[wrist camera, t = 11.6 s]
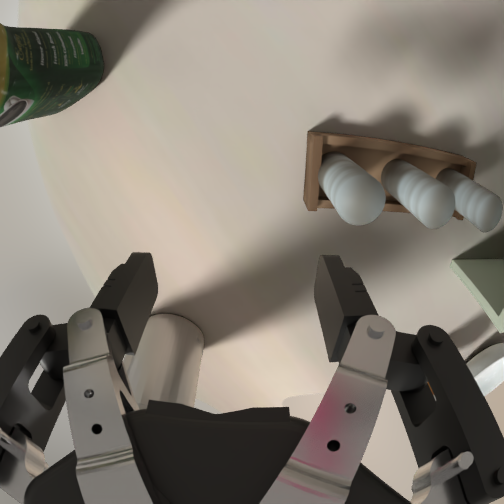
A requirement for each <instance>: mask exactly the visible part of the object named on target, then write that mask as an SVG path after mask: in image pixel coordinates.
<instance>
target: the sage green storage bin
mask: <svg viewBox="0 0 504 504" xmlns="http://www.w3.org/2000/svg"><path fill="white" fill-rule="evenodd" d="M450 268H451V269H452V270H453V271H454V272H455V274H456V275H457V276H458V277H459V278H460V280H461V281H462V282H463V283H464V285H465V286H466V287H467V288H468V290H469V291H470V292H471V294H472V295H473V296H474V298H475V299H476V300H477V302H478V303H479V304H480V306H481V307H482V308H483V310H484V311H485V312H486V314H487V315H488V317H489V318H490V320H491V321H492V322H493V324H494V325H495V327H496V328H497V330H498V331H499V333H503V332H504V259H459V260H452V262H451V265H450Z"/></svg>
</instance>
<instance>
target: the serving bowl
mask: <svg viewBox="0 0 504 504" xmlns="http://www.w3.org/2000/svg"><path fill="white" fill-rule="evenodd" d="M466 365H467V366H468V368H469V370H470V371H471V373H472V375H473V377H474V379H475V380H476V382H477V384H478V386H479V388H480V390H481V392H482V393H483V395H484V396H486V395H487V394H488V393H490V392H491V391H492V390H494V389H495V388H496V387H497V386H498V385H500V384H501V383H502V382H503V381H504V343H498V344H495V345H492V346H490V347H488V348H486V349H485V350H483V351H482V352H480V353H479V354H477V355H476V356H475V357H473V358H472V359H471V360H470V361H469V362H468V363H467V364H466Z"/></svg>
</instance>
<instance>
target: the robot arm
mask: <svg viewBox="0 0 504 504" xmlns="http://www.w3.org/2000/svg"><path fill="white" fill-rule="evenodd" d="M157 294H158V283H157V278H156V273H155V268H154V263H153V258H152V255H151V253H140V252H133V253H132V254H131V255H130V257H129V258H128V260H127V262H126V263H125V264H121V265H119V266H118V267H117V268H116V269H114V270H113V271H112V273H111V274H110V276H109V277H108V280H106V282H105V283H104V286H103V287H102V288H101V290H100V291H99V293H98V295H97V296H96V298H95V300H94V301H93V303H92V305H91V306H90V308H85V309H82V310H79V311H77V312H76V313H74V314H73V315H72V316H71V317H70V319H69V321H68V323H65V324H58V325H52V324H51V322H50V320H49V318H48V317H47V316H45V315H36V316H33V317H31V318H29V319H28V320H27V321H26V322H25V323H24V324H23V325H22V327H21V328H20V329H19V331H18V332H17V334H16V335H15V336H14V338H13V339H12V341H11V342H10V344H9V345H8V346H7V348H6V349H5V351H4V352H3V354H2V356H1V357H0V488H1V489H2V490H4V491H5V492H6V493H7V494H9V495H10V496H11V497H13V498H14V499H15V500H17V501H18V502H19V503H21V504H489V503H491V502H493V501H495V500H497V499H499V498H501V497H503V496H504V438H503V435H502V433H501V431H500V429H499V426H498V424H497V422H496V420H495V418H494V415H493V413H492V411H491V409H490V407H489V405H488V403H487V401H486V399H485V397H484V395H483V393H482V392H481V390H480V388H479V386H478V384H477V382H476V380H475V379H474V377H473V375H472V373H471V371H470V370H469V368H468V366H467V365H466V363H465V361H464V359H463V358H462V356H461V354H460V353H459V351H458V350H457V348H456V346H455V345H454V343H453V341H452V340H451V338H450V337H449V335H448V334H447V333H446V332H445V331H444V330H443V329H441V328H439V327H437V326H433V325H426V326H423V327H421V328H420V329H419V331H418V333H417V335H413V334H407V333H401V332H397V331H395V328H394V326H393V325H392V323H391V322H390V321H388V320H387V319H385V318H384V317H381V316H378V313H377V311H376V309H375V307H374V305H373V302H372V300H371V298H370V296H369V294H368V292H367V290H366V288H365V286H364V285H363V282H362V280H361V277H360V275H359V274H358V273H356V272H355V271H354V270H353V269H352V268H345V267H344V265H343V263H342V260H341V258H340V256H338V255H321V256H320V258H319V263H318V269H317V275H316V281H315V287H314V298H315V303H316V307H317V311H318V316H319V320H320V324H321V328H322V332H323V336H324V341H325V345H326V349H327V354H328V358H329V362H339V366H338V368H337V370H336V372H335V374H334V376H333V378H332V381H331V383H330V385H329V387H328V389H327V391H326V393H325V395H324V397H323V399H322V401H321V403H320V405H319V407H318V409H317V411H316V413H315V415H314V417H313V419H312V420H311V422H308V421H306V420H304V419H300V418H297V417H292V416H290V413H289V407H270V408H249V409H244V410H239V411H234V412H228V413H223V414H212V413H209V412H206V411H202V410H199V409H196V408H194V402H195V396H196V390H197V383H198V377H199V371H200V364H201V358H202V354H203V346H204V337H203V334H202V332H201V331H200V329H199V328H198V327H197V326H196V325H195V324H194V323H192V322H191V321H189V320H187V319H185V318H183V317H180V316H178V315H173V314H156V315H153V316H151V317H149V316H150V313H151V311H152V308H153V306H154V303H155V301H156V298H157ZM125 354H126V355H125ZM124 355H125V357H124ZM123 358H124V360H123ZM122 360H123V361H122ZM39 363H40V365H41V366H42V368H43V369H44V371H43V372H42V374H41V376H40V378H39V379H38V381H37V383H36V385H35V387H34V388H33V390H32V392H31V393H30V391H29V388H28V383H29V380H30V378H31V376H32V374H33V373H34V371H35V369H36V367H37V366H38V364H39ZM427 382H428V383H429V385H430V387H431V389H432V391H433V393H434V395H435V398H436V400H435V398H434V396H433V393H432V391H431V389H430V387H429V385H428V383H427ZM386 389H389V390H391V392H392V394H393V397H394V400H395V402H396V405H397V407H398V410H399V413H400V415H401V418H402V421H403V423H404V426H405V429H406V432H407V434H408V437H409V440H410V443H411V446H412V449H413V452H414V455H415V458H416V461H417V464H418V467H419V469H418V470H417V471H416V473H415V475H414V478H413V485H412V491H413V496H412V499H411V501H408V500H407V499H405V498H404V497H403V496H401V495H400V494H399V493H397V492H396V491H395V490H394V489H392V488H391V487H390V486H389V485H387V484H386V483H385V482H384V481H382V480H381V479H380V478H379V477H377V476H376V475H375V474H374V473H372V472H371V471H370V470H369V469H368V468H366V467H365V466H364V465H363V464H362V463H361V460H362V457H363V455H364V452H365V450H366V447H367V444H368V442H369V439H370V437H371V434H372V431H373V428H374V426H375V423H376V420H377V417H378V414H379V411H380V408H381V404H382V401H383V398H384V394H385V391H386ZM65 401H66V404H67V410H68V417H69V422H70V428H71V433H72V438H73V443H74V447H75V450H74V451H72V452H71V453H69V454H68V455H67V456H65V457H64V458H62V459H61V460H60V461H58V462H57V463H55V464H54V465H53V466H51V467H50V468H48V464H47V463H46V462H45V457H44V453H43V452H44V450H45V447H46V445H47V442H48V439H49V437H50V435H51V432H52V430H53V428H54V425H55V423H56V421H57V418H58V416H59V414H60V412H61V410H62V407H63V405H64V403H65Z"/></svg>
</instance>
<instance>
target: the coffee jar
mask: <svg viewBox="0 0 504 504" xmlns="http://www.w3.org/2000/svg"><path fill="white" fill-rule="evenodd" d="M103 68H104V64H103V57H102V53H101V49H100V46H99V44H98V42H97V40H96V38H95V37H94V36H93V35H92V34H90V33H87V32H82V31H75V30H62V29H42V28H16V27H8V26H4V25H2V24H1V23H0V127H3V126H6V125H10V124H13V123H17V122H21V121H25V120H29V119H34V118H39V117H43V116H48V115H52V114H56V113H58V112H61V111H63V110H64V109H66V108H68V107H70V106H71V105H73V104H74V103H76V102H77V101H79V100H80V99H82V98H83V97H84V96H86V95H87V94H88V93H89V92H91V91H92V90H93V89H94V88H95V87H96V86H97V85H98V83H99V82H100V80H101V77H102V74H103Z"/></svg>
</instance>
